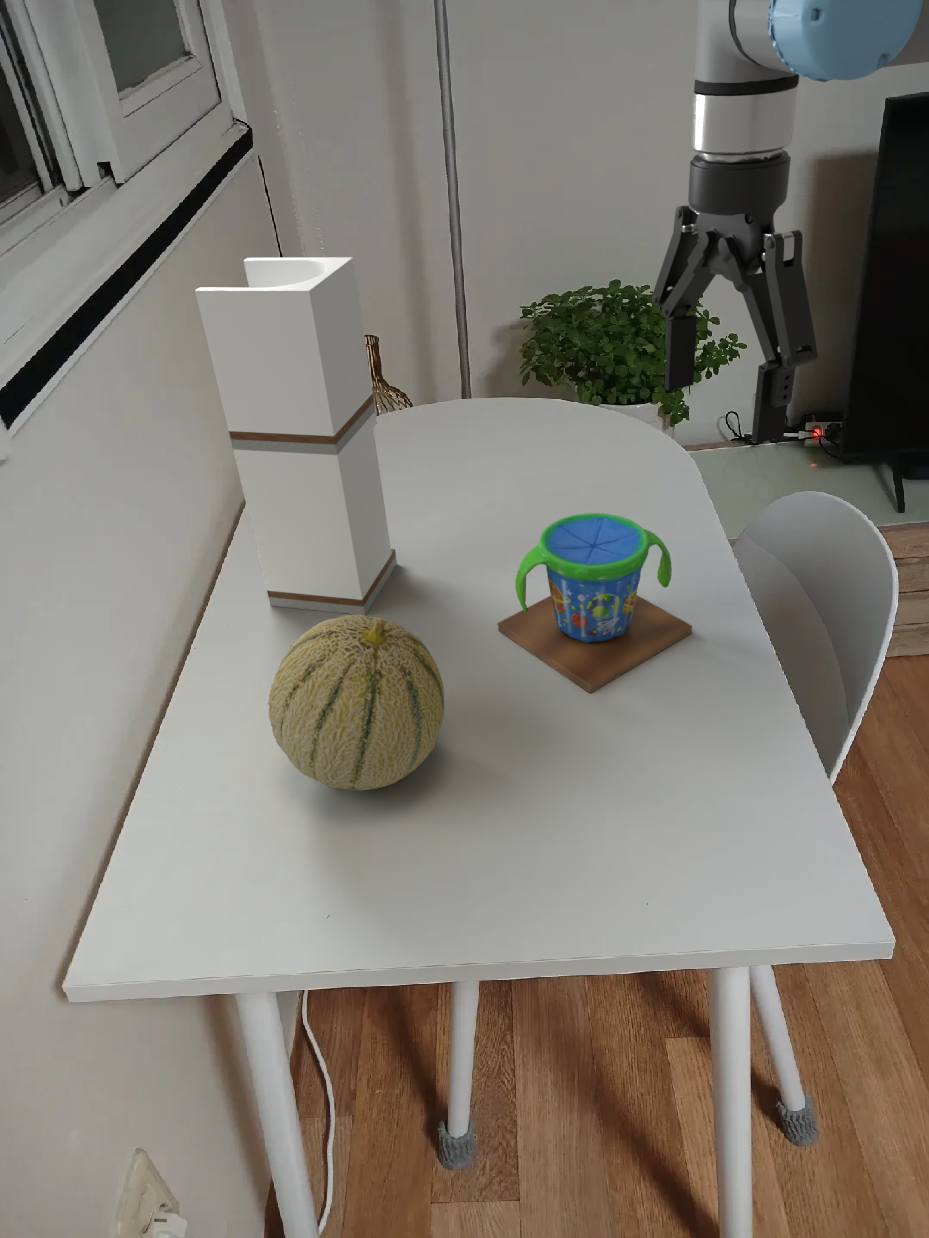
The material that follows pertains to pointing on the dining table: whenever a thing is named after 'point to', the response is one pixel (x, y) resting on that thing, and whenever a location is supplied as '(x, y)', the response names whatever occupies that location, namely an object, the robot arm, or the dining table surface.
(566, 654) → the wooden board
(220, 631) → the dining table surface
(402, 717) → the cantaloupe
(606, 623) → the snack cup
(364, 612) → the striped white pillar
